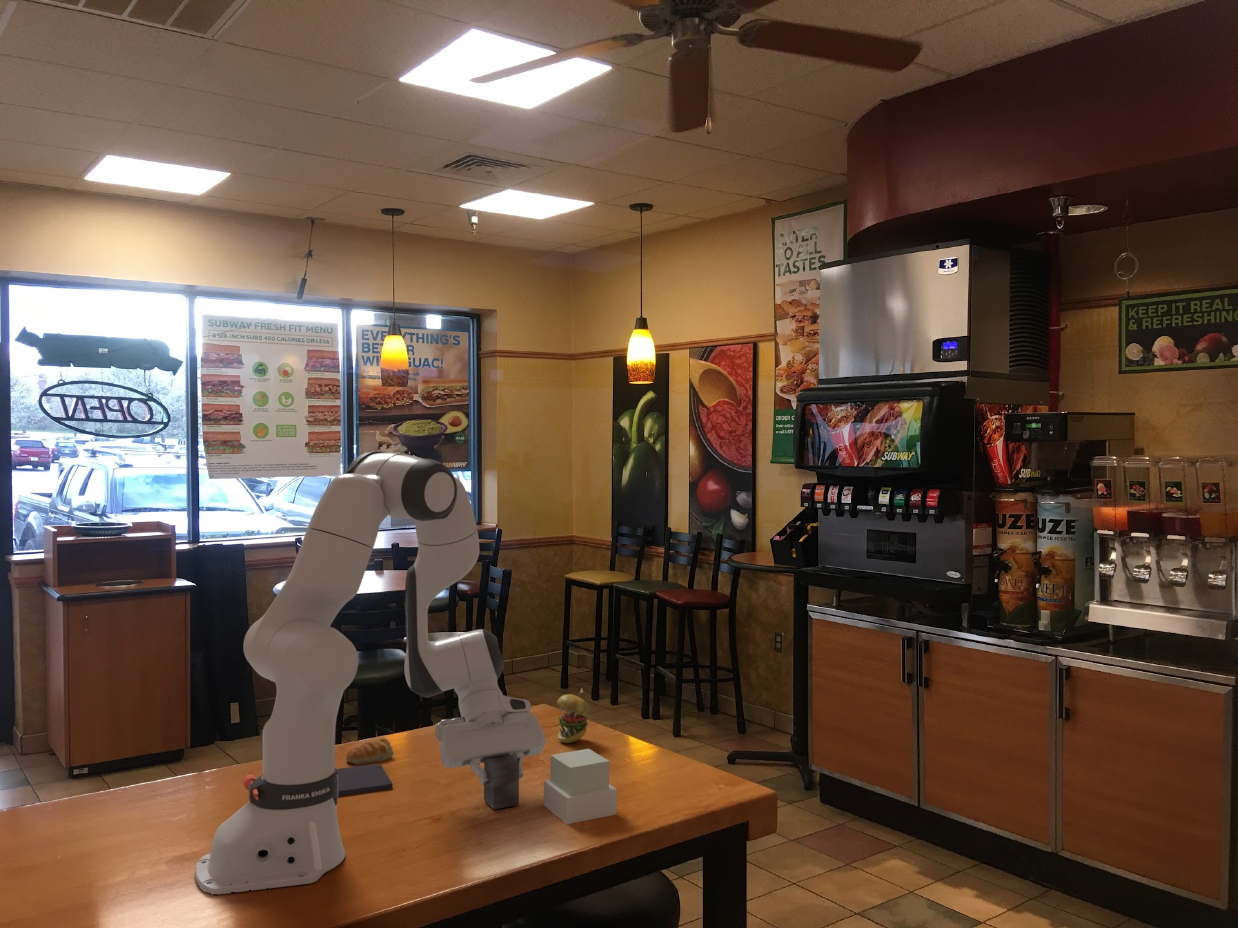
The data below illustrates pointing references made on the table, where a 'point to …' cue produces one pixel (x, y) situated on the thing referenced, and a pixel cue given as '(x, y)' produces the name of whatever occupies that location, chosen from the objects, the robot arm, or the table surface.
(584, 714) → the hamburger
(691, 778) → the table surface
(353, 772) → the notebook
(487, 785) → the charcoal block
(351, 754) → the pastry
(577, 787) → the tower top
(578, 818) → the tower base
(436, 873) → the table surface
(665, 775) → the table surface
